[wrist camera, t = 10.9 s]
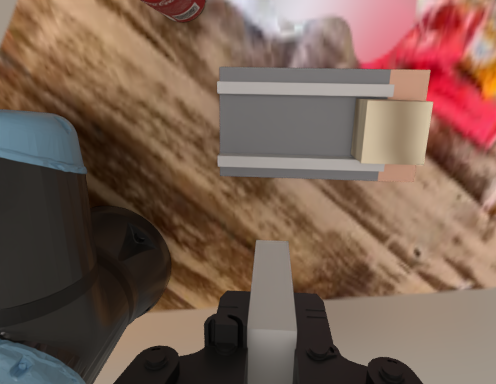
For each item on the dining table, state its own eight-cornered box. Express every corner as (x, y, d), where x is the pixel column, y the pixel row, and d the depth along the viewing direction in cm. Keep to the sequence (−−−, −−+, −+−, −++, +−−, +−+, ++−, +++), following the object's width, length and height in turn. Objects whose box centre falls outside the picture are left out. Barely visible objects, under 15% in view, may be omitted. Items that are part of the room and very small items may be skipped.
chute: (221, 174, 44) (217, 179, 41) (220, 67, 40) (217, 66, 38) (411, 180, 42) (419, 186, 40) (427, 70, 39) (437, 69, 37)
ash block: (350, 154, 41) (361, 163, 36) (356, 98, 39) (367, 100, 35) (405, 155, 41) (423, 165, 36) (413, 99, 39) (433, 101, 34)
